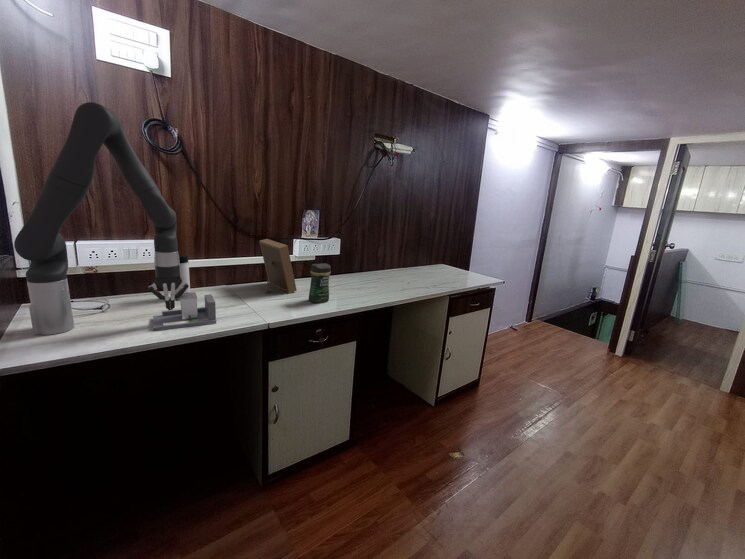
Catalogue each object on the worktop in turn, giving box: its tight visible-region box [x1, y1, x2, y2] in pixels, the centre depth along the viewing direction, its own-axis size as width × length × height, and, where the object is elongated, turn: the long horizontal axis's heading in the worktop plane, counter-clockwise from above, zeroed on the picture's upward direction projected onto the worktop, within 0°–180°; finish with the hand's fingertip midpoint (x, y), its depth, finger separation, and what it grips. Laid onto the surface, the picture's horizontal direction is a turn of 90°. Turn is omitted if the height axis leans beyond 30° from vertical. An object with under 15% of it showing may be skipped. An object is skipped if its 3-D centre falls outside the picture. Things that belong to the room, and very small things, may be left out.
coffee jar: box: [308, 262, 332, 304], centre depth 159 cm, size 10×8×19 cm
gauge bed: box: [152, 294, 217, 332], centre depth 123 cm, size 20×12×8 cm, turn 123°
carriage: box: [179, 291, 198, 321], centre depth 123 cm, size 5×9×9 cm, turn 33°
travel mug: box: [175, 254, 191, 301], centre depth 145 cm, size 6×7×20 cm
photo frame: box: [258, 238, 297, 294], centre depth 170 cm, size 15×22×25 cm
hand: (170, 309), depth 121 cm, fingers closed
